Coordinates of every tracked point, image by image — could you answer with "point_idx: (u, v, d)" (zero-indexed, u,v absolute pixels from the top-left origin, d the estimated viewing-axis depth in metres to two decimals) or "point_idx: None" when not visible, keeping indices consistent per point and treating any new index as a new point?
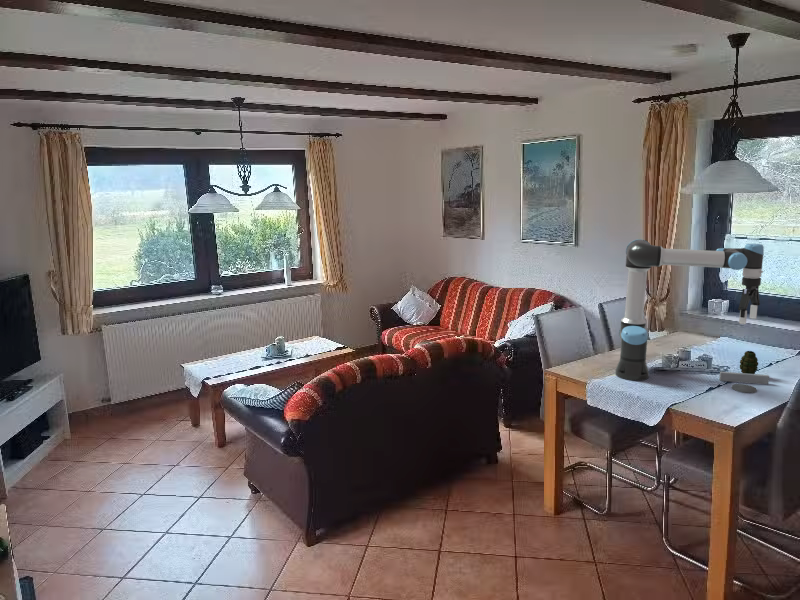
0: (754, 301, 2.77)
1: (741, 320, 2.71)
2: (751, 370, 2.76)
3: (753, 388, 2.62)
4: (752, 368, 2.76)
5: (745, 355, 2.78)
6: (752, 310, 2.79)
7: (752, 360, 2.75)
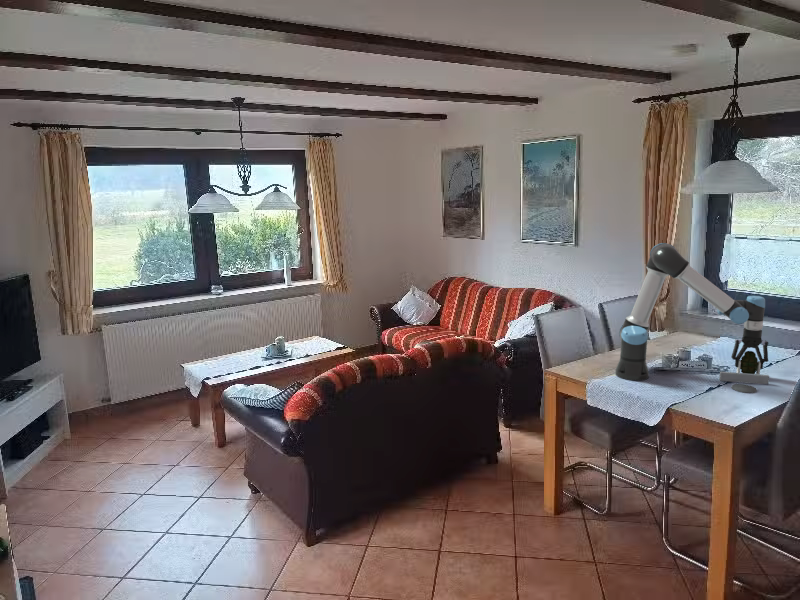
0: (758, 357, 2.77)
1: (737, 370, 2.81)
2: (751, 370, 2.76)
3: (753, 388, 2.62)
4: (752, 368, 2.76)
5: (745, 355, 2.78)
6: (757, 366, 2.78)
7: (752, 360, 2.75)
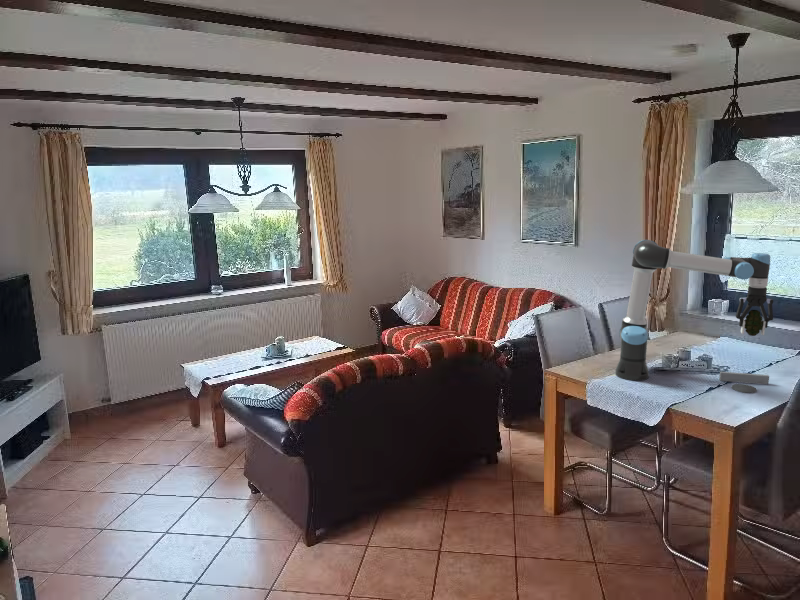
0: (763, 315, 2.72)
1: (741, 329, 2.77)
2: (756, 329, 2.71)
3: (753, 388, 2.62)
4: (757, 327, 2.71)
5: (750, 314, 2.73)
6: (762, 325, 2.74)
7: (757, 318, 2.71)
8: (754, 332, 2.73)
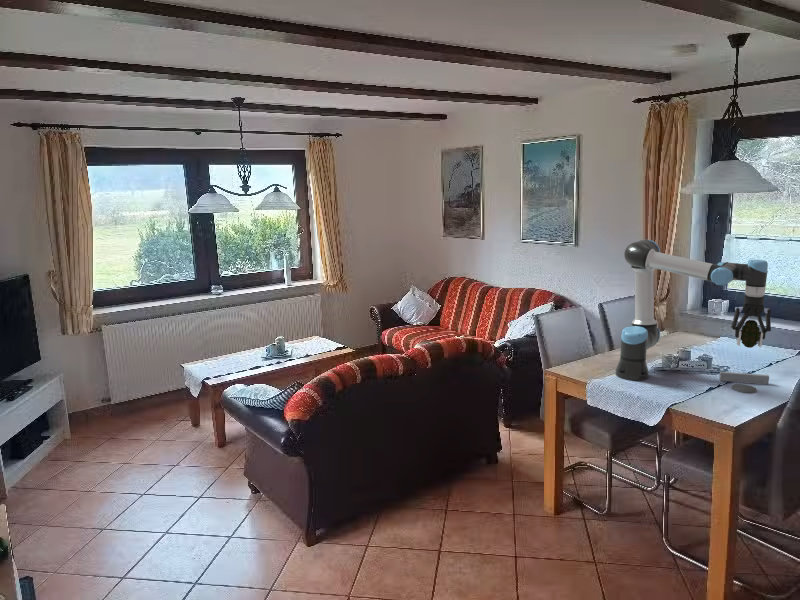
0: (760, 326, 2.56)
1: (737, 340, 2.60)
2: (752, 340, 2.55)
3: (753, 388, 2.62)
4: (754, 338, 2.55)
5: (746, 324, 2.57)
6: None
7: (754, 329, 2.54)
8: (751, 344, 2.56)
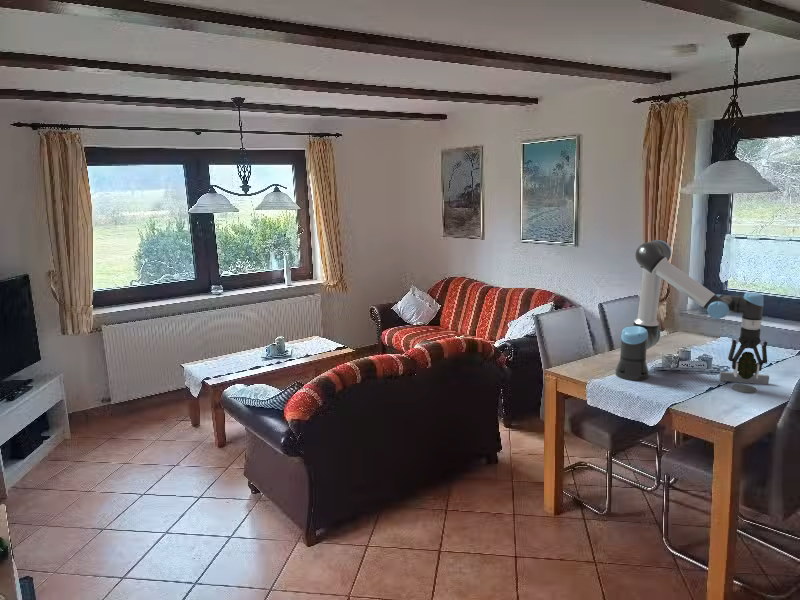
0: (757, 358, 2.59)
1: (734, 372, 2.63)
2: (749, 372, 2.58)
3: (753, 388, 2.62)
4: (750, 370, 2.58)
5: (743, 356, 2.60)
6: (756, 368, 2.60)
7: (750, 361, 2.57)
8: (747, 375, 2.59)
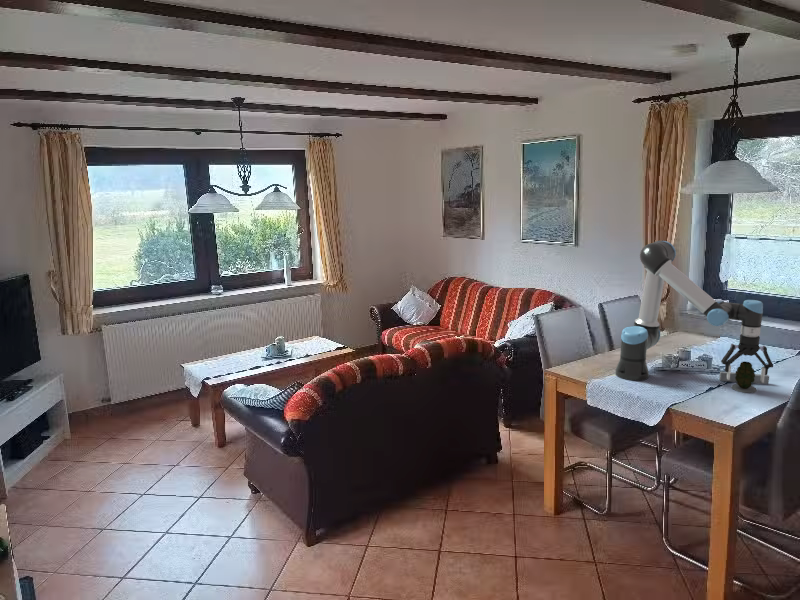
0: None
1: (727, 375, 2.65)
2: (747, 382, 2.59)
3: (753, 388, 2.62)
4: (748, 380, 2.59)
5: (741, 366, 2.61)
6: (761, 372, 2.60)
7: (748, 371, 2.58)
8: (746, 385, 2.60)
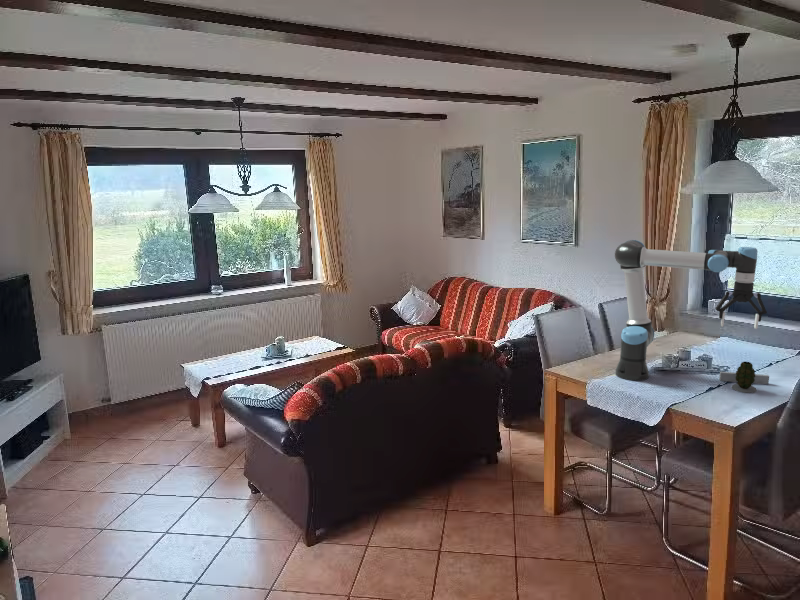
0: (755, 309, 2.62)
1: (721, 322, 2.69)
2: (748, 382, 2.59)
3: (753, 388, 2.62)
4: (749, 380, 2.59)
5: (741, 366, 2.61)
6: (755, 319, 2.64)
7: (749, 371, 2.58)
8: (746, 385, 2.60)
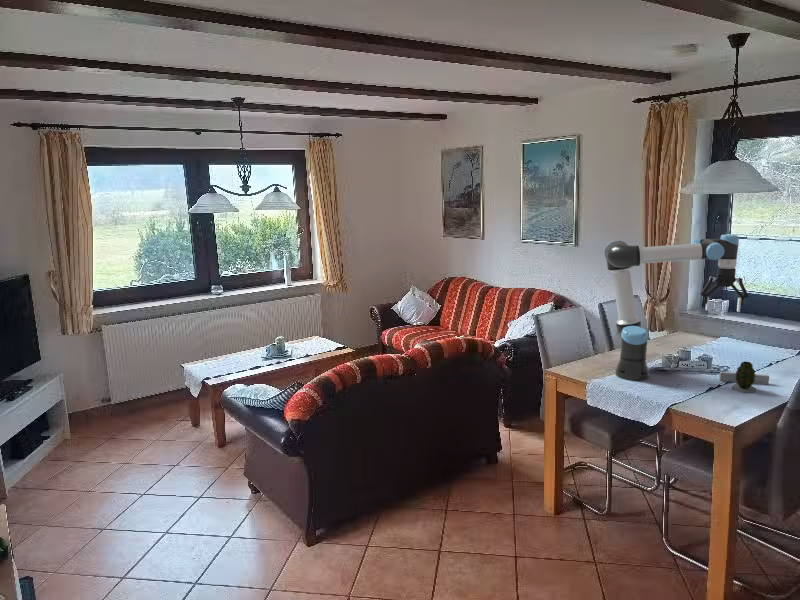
0: None
1: (706, 306, 2.83)
2: (748, 382, 2.59)
3: (753, 388, 2.62)
4: (749, 380, 2.59)
5: (741, 366, 2.61)
6: (738, 303, 2.78)
7: (749, 371, 2.58)
8: (746, 385, 2.60)
